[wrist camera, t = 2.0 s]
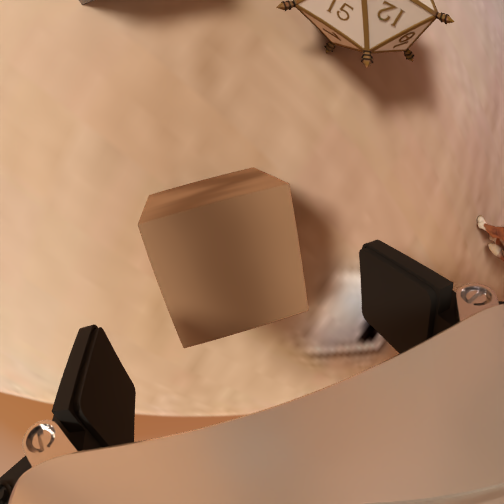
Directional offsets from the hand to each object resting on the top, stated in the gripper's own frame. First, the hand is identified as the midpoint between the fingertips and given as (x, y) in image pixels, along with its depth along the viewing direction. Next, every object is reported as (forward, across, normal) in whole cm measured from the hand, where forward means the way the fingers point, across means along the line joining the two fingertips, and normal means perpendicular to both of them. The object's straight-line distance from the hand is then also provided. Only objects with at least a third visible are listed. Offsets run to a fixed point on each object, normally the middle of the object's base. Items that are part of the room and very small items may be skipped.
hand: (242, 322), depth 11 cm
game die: (+9, -10, -13) cm, 19 cm away
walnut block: (+9, 0, -1) cm, 9 cm away
